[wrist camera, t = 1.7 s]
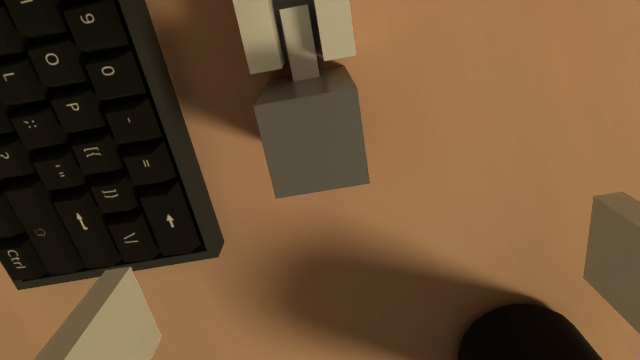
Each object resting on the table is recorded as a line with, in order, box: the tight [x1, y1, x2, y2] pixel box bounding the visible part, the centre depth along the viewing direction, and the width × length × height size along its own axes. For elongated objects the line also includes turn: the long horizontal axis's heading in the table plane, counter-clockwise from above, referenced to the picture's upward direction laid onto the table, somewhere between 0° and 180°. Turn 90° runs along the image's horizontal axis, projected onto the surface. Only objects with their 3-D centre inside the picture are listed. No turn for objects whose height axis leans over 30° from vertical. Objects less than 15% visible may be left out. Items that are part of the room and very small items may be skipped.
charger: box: [253, 4, 370, 198], centre depth 22 cm, size 5×9×8 cm, turn 10°
